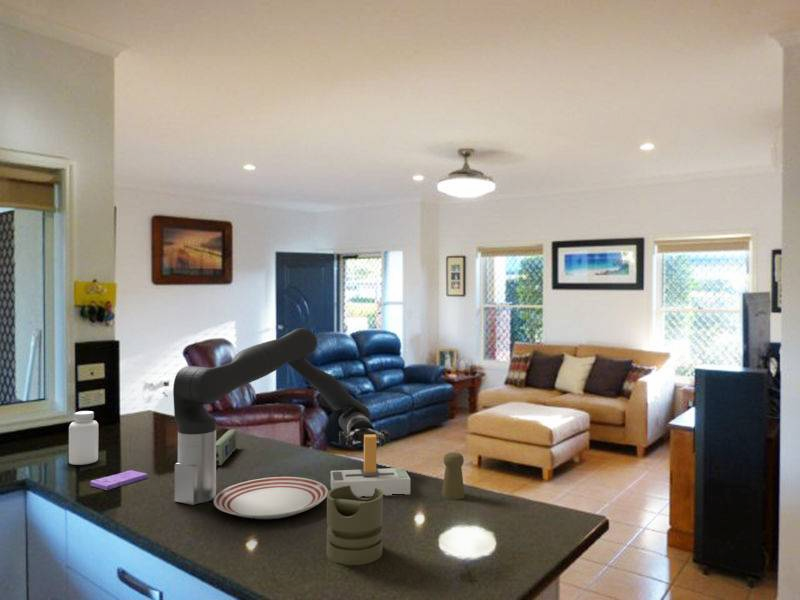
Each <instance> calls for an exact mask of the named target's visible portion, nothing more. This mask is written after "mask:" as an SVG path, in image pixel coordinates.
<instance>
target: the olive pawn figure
mask: <svg viewBox="0 0 800 600" xmlns="http://www.w3.org/2000/svg"><path fill="white" fill-rule="evenodd" d="M464 461H465V459H464V456H463V455H462V454H461V453H460V452H447V453H445V454H444V456H443V464H444V466H445V468H444V475H443V480H442V481H443V483H442V488H441V489H442V490H441V497H442V498H443V499H446V500H451V501H453V500H461V499H462V500H463V499H464V498H465V496H466V495H465V494H466V493H465V487H464V485H465V484H464V479H463V467H462V466H464V463H465V462H464Z"/></svg>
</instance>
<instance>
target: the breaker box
mask: <svg viewBox="0 0 800 600" xmlns="http://www.w3.org/2000/svg"><path fill="white" fill-rule="evenodd" d="M377 469H378V472H379V476H362V473H361V469H344V470H340V469H339V470H330V488H331V489H330V490H332V489H334V488H337V487H340V486H346V485H350V487H351V490H352V492H353V493H354V494H355V495H356V496H358V497H360V498H363V497H362V496H365V497H372V496H373V495H374V492H375V488H378V489H380V490H381V491H382V492H383V495H385V496H393V495H392V494H405V495H411V477H410V476H409V474H408V473H407V470H405V468H404V467H390V468H386V467H385V468H377Z"/></svg>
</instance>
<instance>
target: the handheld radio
mask: <svg viewBox="0 0 800 600" xmlns="http://www.w3.org/2000/svg"><path fill="white" fill-rule="evenodd" d="M236 435H237V431H236V430H235V429H228V430H227V431H226V432H225V433H224V434H223V435H222V436H221V437H219V439H218V440H216V467H217V465H220V466H222V465H223V464H224V462H225V461H226V460H227V459H228V458H229V457H230V456H231V455H232V454H233V453H234V451H235V450H236V449H237V442H236V440H237V436H236ZM232 452H233V453H232Z"/></svg>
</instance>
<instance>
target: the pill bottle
mask: <svg viewBox="0 0 800 600" xmlns="http://www.w3.org/2000/svg"><path fill="white" fill-rule="evenodd" d="M94 418H95V412H94V411H92V410H91V411H90V410H80V411H77V412H74V415H73V420H74V421H72V422H71V423H70V424H69V426H68V462H69V464H70V465H74V466H76V465H78V466H83V465H89V464H93V463H96V462H97V461H99V460H98V459H99V423H98V422H97V420H94Z"/></svg>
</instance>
